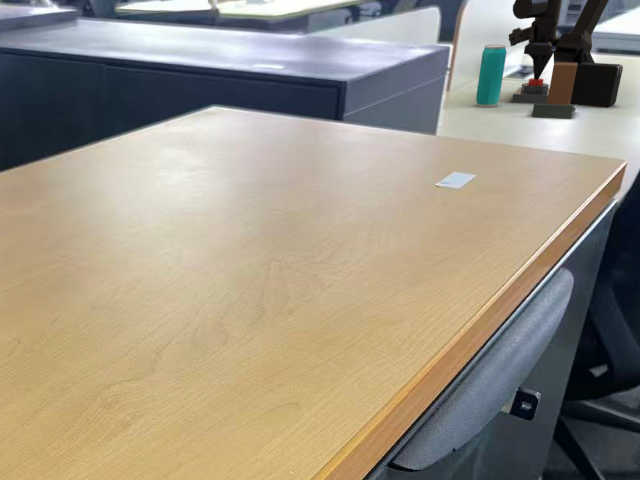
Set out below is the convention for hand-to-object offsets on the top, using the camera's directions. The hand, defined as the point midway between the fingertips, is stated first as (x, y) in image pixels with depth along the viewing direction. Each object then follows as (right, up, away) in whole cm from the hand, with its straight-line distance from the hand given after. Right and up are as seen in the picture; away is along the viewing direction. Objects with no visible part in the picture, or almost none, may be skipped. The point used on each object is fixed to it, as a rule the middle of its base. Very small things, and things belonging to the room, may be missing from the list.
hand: (536, 79), depth 230 cm
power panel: (0, -5, +2) cm, 5 cm away
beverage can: (-15, -8, -3) cm, 17 cm away
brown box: (0, -12, -11) cm, 16 cm away
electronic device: (+11, -10, -7) cm, 16 cm away
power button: (0, -2, +1) cm, 2 cm away
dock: (-4, -15, -17) cm, 23 cm away
